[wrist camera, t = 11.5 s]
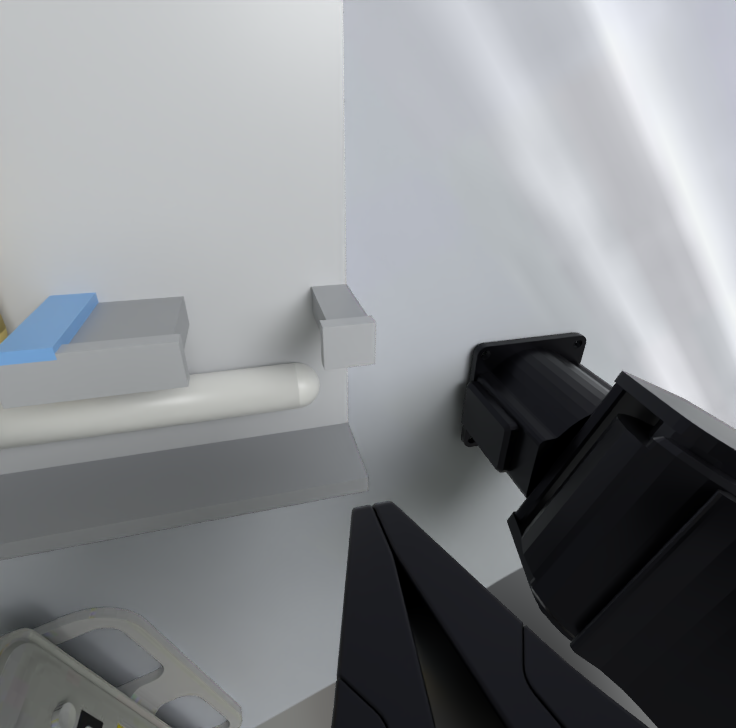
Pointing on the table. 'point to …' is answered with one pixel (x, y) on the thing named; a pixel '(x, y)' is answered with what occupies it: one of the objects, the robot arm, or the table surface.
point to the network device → (96, 678)
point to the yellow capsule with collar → (2, 330)
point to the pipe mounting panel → (172, 266)
